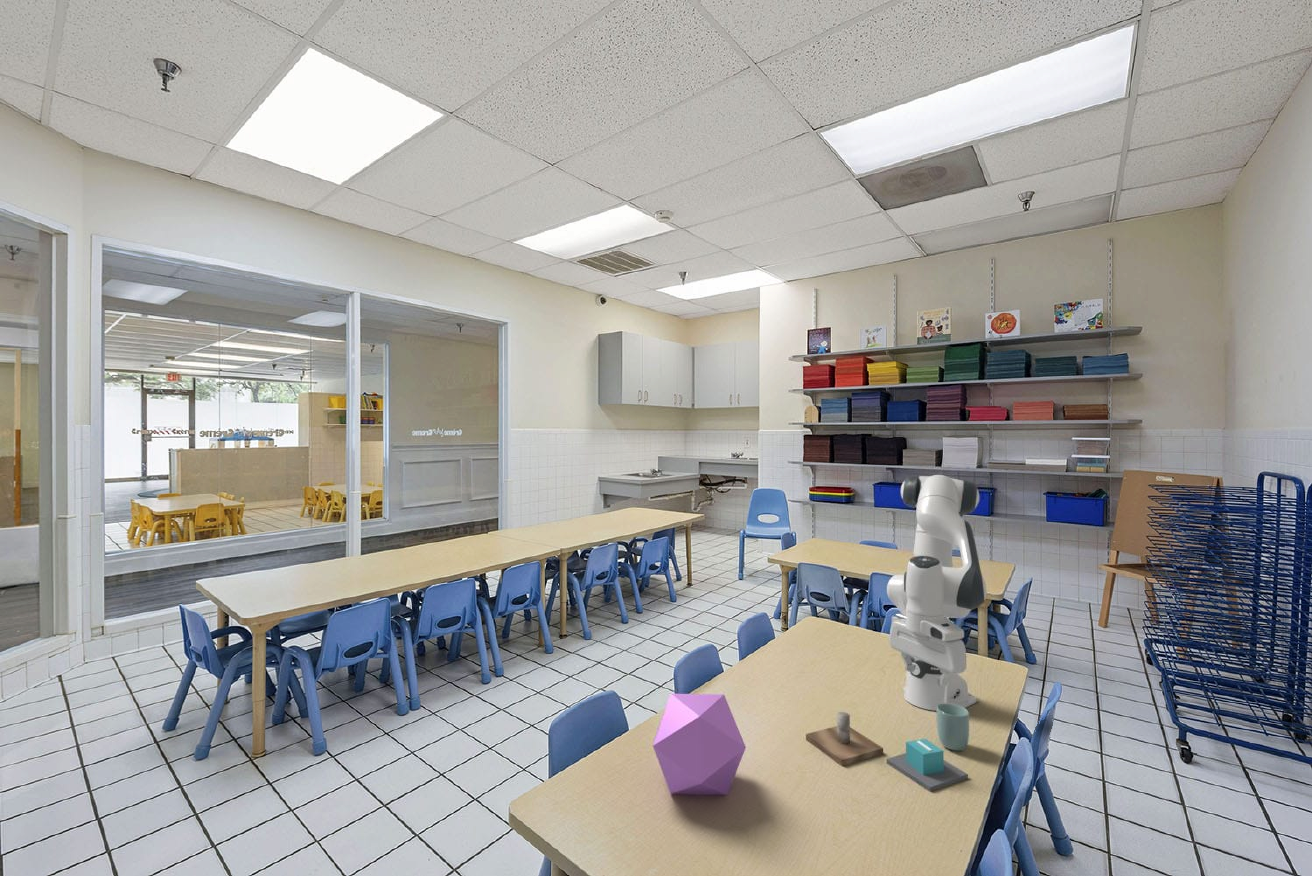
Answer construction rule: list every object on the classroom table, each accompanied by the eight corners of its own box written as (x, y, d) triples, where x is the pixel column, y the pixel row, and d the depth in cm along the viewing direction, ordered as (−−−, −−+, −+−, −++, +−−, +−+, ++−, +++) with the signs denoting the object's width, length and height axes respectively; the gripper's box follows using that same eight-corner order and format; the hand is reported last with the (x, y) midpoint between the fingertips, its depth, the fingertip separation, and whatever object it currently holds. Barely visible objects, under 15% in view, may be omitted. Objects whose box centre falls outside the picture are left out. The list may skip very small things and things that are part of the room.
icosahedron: (655, 721, 150) (654, 669, 135) (734, 722, 149) (741, 670, 135) (653, 815, 132) (651, 768, 117) (743, 817, 131) (752, 770, 117)
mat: (923, 751, 148) (923, 747, 148) (967, 778, 136) (967, 774, 136) (886, 762, 142) (886, 758, 142) (930, 791, 130) (930, 787, 130)
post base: (845, 729, 159) (845, 699, 159) (883, 753, 147) (883, 721, 147) (805, 739, 154) (805, 708, 154) (841, 765, 141) (841, 732, 141)
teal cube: (906, 761, 141) (905, 740, 141) (925, 757, 143) (925, 737, 143) (923, 774, 135) (923, 753, 135) (943, 771, 137) (943, 749, 137)
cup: (966, 741, 152) (966, 705, 153) (972, 756, 145) (972, 718, 145) (934, 737, 155) (934, 700, 155) (939, 751, 148) (938, 713, 148)
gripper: (883, 612, 148) (883, 665, 148) (952, 636, 129) (952, 696, 129) (900, 610, 150) (901, 661, 150) (970, 633, 132) (971, 691, 132)
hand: (925, 678), depth 139 cm, fingers open, 8 cm apart
